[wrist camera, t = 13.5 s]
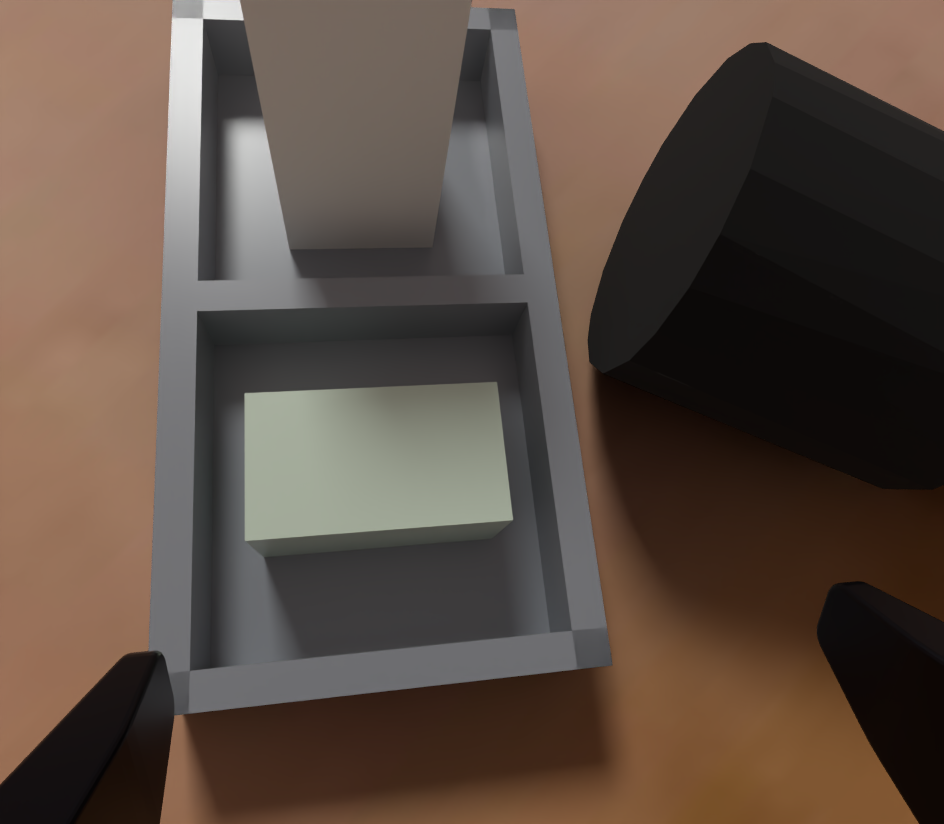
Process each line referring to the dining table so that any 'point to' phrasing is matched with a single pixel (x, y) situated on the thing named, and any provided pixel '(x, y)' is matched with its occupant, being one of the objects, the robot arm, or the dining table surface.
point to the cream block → (358, 114)
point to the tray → (361, 413)
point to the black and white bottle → (789, 271)
